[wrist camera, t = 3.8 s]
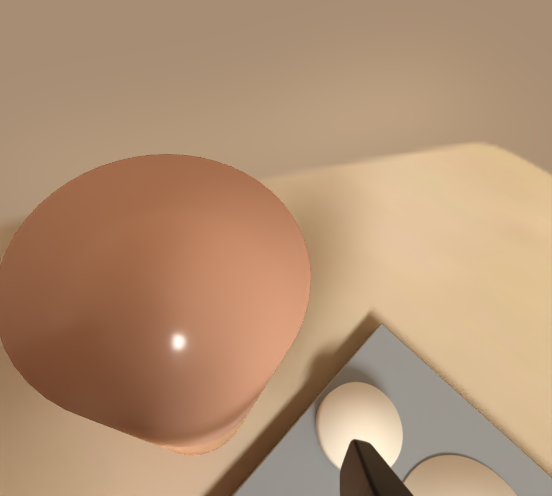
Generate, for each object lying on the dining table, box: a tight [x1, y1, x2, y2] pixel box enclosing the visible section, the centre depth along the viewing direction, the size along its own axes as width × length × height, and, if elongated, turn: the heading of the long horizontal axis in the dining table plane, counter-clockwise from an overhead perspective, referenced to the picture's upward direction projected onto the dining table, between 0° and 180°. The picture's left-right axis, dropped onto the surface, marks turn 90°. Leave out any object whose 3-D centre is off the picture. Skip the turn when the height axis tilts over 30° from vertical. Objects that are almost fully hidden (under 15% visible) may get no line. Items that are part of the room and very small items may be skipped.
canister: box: [0, 154, 311, 455], centre depth 11 cm, size 5×5×13 cm
